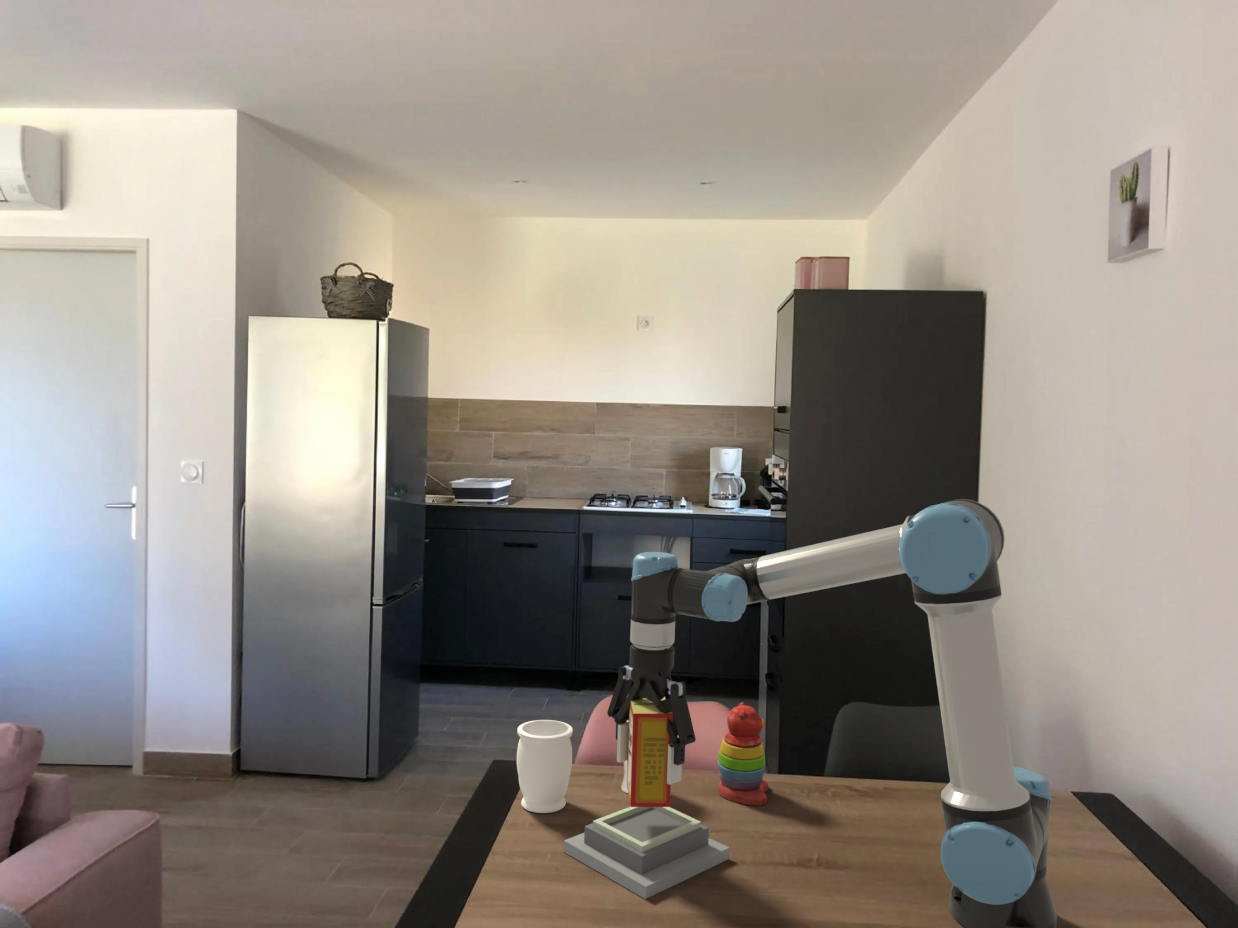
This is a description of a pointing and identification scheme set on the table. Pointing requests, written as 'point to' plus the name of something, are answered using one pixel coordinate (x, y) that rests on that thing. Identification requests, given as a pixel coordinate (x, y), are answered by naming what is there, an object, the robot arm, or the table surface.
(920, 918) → the table surface
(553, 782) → the jar
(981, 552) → the robot arm
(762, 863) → the table surface
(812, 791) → the table surface
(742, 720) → the stacking bear
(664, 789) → the baking soda box
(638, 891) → the plinth
